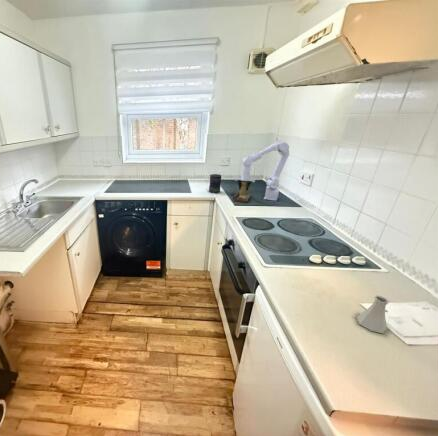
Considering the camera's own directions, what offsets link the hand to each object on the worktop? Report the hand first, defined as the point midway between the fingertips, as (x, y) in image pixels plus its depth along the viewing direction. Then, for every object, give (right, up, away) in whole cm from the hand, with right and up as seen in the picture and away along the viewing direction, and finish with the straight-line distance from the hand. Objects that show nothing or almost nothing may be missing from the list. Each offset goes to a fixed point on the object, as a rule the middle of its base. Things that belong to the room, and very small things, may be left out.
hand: (243, 190), depth 191 cm
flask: (-7, -57, -116) cm, 129 cm away
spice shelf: (0, -7, +2) cm, 7 cm away
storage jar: (-17, +1, +23) cm, 28 cm away
